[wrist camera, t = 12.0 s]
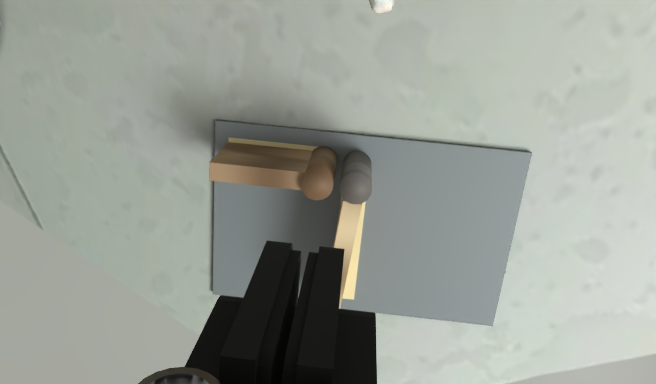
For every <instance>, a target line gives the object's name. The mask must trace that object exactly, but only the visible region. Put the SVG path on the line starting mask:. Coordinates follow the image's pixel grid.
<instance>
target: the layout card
mask: <svg viewBox="0 0 656 384" xmlns="http://www.w3.org/2000/svg"><path fill="white" fill-rule="evenodd" d="M228 142H234V143H243V144H253V145H263V146H272V147H282V148H292V149H301V150H311V151H313V150H314V149H316V148H317V147H319V146H327V147H330V148H332V149H333V150H334V151H335V153H336V154H337V158H338V162H337V167H336V173H335V178H334V184H333V189H332V192H331V193H330V195H329V196H328V197H326V198H325V199H322V200H312V199H310V198H308V197H307V196H305V195H304V193H303V192H302V190H293V189H284V188H274V187H265V186H256V185H246V184H237V183H227V182H218V181H214V242H213V294H215V295H225V296H234V297H244V295H245V293H246V290H247V288H248V285H249V283H250V280H251V278H252V275H253V273H254V270H255V268H256V266H257V263H258V261H259V258H260V256H261V253H262V251H263V248H264V246H265V244H266V241H267V240H268V241H277V242H286V243H292V245H293V250H298V251H301V267H300V280H299V293H300V289H301V284H302V280H303V275H304V271H305V267H306V262H307V258H308V254H309V252H316V253H318V252H319V247H320V246H323V247H332V246H333V241H334V236H335V231H336V226H337V221H338V216H339V211H340V205H341V200H342V197H341V195H340V191H339V187H340V180H341V173H342V167H343V161H344V158H345V157H346V156H347V155H348V154H349V153H351V152H354V151H361V152H364V153H365V154H367V155H368V156H369V158H370V160H371V163H372V193H371V195H370V197H369V199H368V200H367V201H365V202H364V203H362V208H361V212H360V217H359V222H358V227H357V231H356V236H355V241H354V245H353V250H352V255H351V260H350V264H349V269H348V274H347V278H346V283H345V288H344V293H343V297H342V302H341V307H340V309H348V310H357V311H366V312H375V313H383V314H391V315H400V316H409V317H418V318H427V319H435V320H444V321H453V322H462V323H471V324H479V325H488V326H493V322H494V318H495V313H496V309H497V304H498V300H499V296H500V291H501V287H502V282H503V278H504V274H505V269H506V265H507V260H508V256H509V252H510V247H511V243H512V238H513V234H514V230H515V225H516V221H517V216H518V212H519V208H520V203H521V199H522V194H523V190H524V186H525V181H526V177H527V172H528V168H529V164H530V159H531V155H532V153H531V152H526V151H516V150H506V149H497V148H487V147H477V146H467V145H457V144H448V143H438V142H428V141H418V140H408V139H399V138H389V137H379V136H369V135H359V134H350V133H340V132H330V131H320V130H311V129H301V128H291V127H281V126H271V125H262V124H252V123H242V122H232V121H222V120H216V121H215V156H216V155H217V154H218V153H219V152H220V151H221V150H222V148H223V147H224V146H225V145H226V144H227V143H228ZM299 293H298V297H299Z"/></svg>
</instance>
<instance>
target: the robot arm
mask: <svg viewBox="0 0 656 384" xmlns="http://www.w3.org/2000/svg"><path fill="white" fill-rule="evenodd" d="M0 28H1V20H0ZM343 260H344V249H341V248H332V247H323V246H320V247H319V252H318V253H316V252H309V254H308V258H307V262H306V267H305V271H304V275H303V280H302V284H301V289H300V293H299V280H300V267H301V251H298V250H293V245H292V243H286V242H277V241H268V240H267V241H266V244H265V246H264V248H263V251H262V253H261V256H260V258H259V261H258V263H257V266H256V268H255V270H254V273H253V275H252V278H251V280H250V283H249V285H248V288H247V290H246V293H245V295H244V297H234V296H225V295H221V296H220V297H219V298H218V300H217V302H216V304H215V306H214V308H213V310H212V312H211V314H210V316H209V318H208V320H207V322H206V324H205V327H204V329H203V331H202V333H201V335H200V337H199V339H198V341H197V343H196V345H195V347H194V349H193V351H192V353H191V355H190V357H189V359H188V361H187V363H186V365H185V367H179V368H169V369H166V370H162V371H159V372H156V373H154V374H152V375H150V376H148V377H146V378H144V379H143V380H142V381H141V382H140V383H138V384H377V365H376V317H375V312H366V311H357V310H348V309H340V308H339V303H340V292H341V281H342V271H343ZM298 293H299V297H298Z"/></svg>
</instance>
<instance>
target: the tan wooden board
mask: <svg viewBox="0 0 656 384" xmlns="http://www.w3.org/2000/svg"><path fill="white" fill-rule="evenodd" d="M339 191H340V195H341V197H342V200H341V205H340V211H339V216H338V221H337V226H336V231H335V236H334V241H333V246H332V248H341V249H344V260H343V271H342V281H341V292H340V303H339V308H340V307H341V302H342V297H343V293H344V288H345V283H346V278H347V274H348V269H349V264H350V260H351V255H352V250H353V245H354V241H355V236H356V231H357V227H358V222H359V217H360V212H361V208H362V203H364V202H365V201H367V200H368V199H369V197H370V195H371V193H372V163H371V160H370V158H369V156H368V155H367V154H365V153H364V152H361V151H354V152H351V153H349V154H348V155H347V156H346V157H345V158H344V161H343V167H342V173H341V180H340V187H339Z"/></svg>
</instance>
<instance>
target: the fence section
mask: <svg viewBox="0 0 656 384" xmlns="http://www.w3.org/2000/svg"><path fill="white" fill-rule="evenodd" d="M337 162H338V158H337V154H336V153H335V151H334V150H333V149H332V148H330V147H327V146H319V147H317V148H316V149H314V150H313V151H311V150H301V149H292V148H282V147H272V146H263V145H253V144H243V143H234V142H228V143H227V144H226V145H225V146H224V147H223V148H222V150H221V151H220V152H219V153H218V154H217V155H216V156H215V157H214V158H213V159H212V160H211V161H210V166H209V181H218V182H227V183H237V184H246V185H256V186H265V187H274V188H284V189H293V190H302V192H303V193H304V195H305V196H307V197H308V198H310V199H312V200H322V199H325V198H326V197H328V196H329V195H330V193H331V192H332V189H333V184H334V178H335V173H336V167H337Z"/></svg>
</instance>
